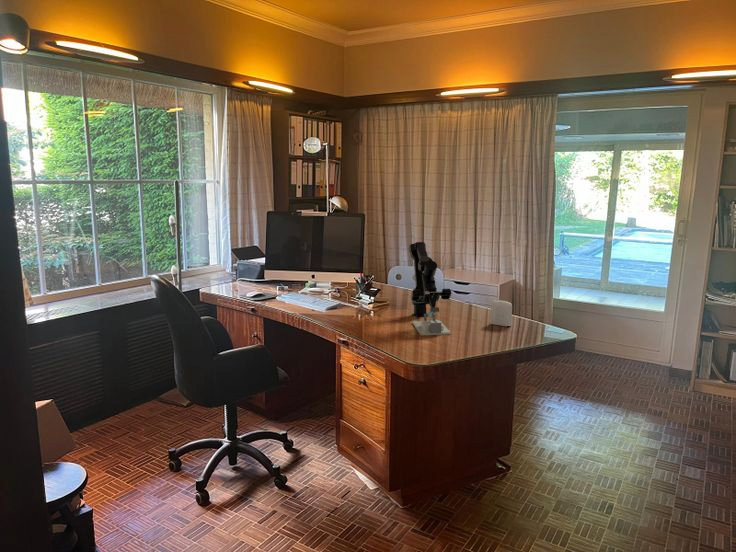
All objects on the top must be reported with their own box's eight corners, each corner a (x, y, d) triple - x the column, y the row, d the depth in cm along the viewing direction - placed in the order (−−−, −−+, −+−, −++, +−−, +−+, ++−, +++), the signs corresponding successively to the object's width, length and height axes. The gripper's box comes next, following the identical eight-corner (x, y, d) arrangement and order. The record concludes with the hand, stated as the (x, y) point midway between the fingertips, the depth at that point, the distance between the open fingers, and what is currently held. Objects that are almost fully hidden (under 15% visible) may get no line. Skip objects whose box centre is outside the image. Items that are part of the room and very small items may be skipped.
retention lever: (425, 314, 262) (430, 307, 249) (433, 314, 262) (438, 307, 250) (425, 318, 262) (430, 311, 249) (433, 317, 262) (439, 311, 249)
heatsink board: (412, 323, 270) (412, 310, 268) (439, 322, 271) (439, 309, 270) (421, 335, 248) (421, 322, 247) (450, 334, 249) (450, 321, 248)
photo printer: (512, 325, 263) (513, 300, 261) (509, 327, 260) (510, 302, 257) (492, 322, 269) (493, 298, 267) (489, 324, 265) (490, 300, 263)
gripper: (444, 290, 268) (449, 317, 259) (407, 291, 266) (411, 319, 257) (448, 277, 259) (454, 305, 250) (410, 279, 257) (415, 306, 248)
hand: (433, 309), depth 252 cm, fingers closed, pressing on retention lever
